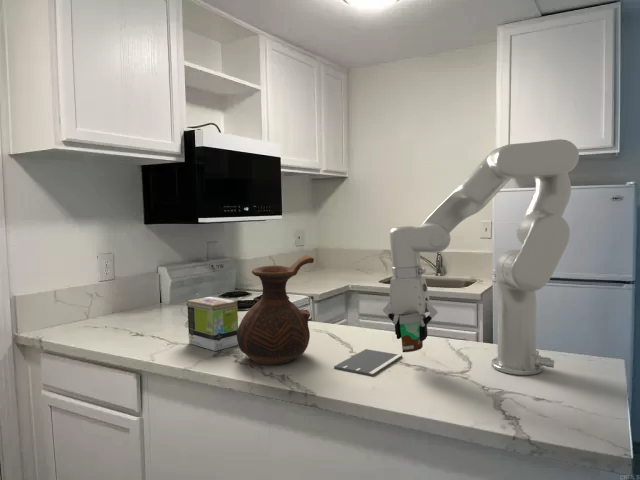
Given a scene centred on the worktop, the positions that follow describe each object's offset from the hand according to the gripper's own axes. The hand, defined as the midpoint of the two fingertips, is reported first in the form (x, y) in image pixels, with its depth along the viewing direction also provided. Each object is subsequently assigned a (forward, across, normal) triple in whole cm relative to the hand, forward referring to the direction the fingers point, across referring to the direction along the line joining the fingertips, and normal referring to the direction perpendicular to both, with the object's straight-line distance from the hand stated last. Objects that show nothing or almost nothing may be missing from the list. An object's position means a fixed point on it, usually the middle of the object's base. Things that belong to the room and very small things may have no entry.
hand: (411, 338), depth 131 cm
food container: (+3, -1, 0) cm, 3 cm away
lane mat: (+8, +13, +2) cm, 15 cm away
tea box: (+5, +66, +11) cm, 67 cm away
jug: (+6, +39, +12) cm, 41 cm away
